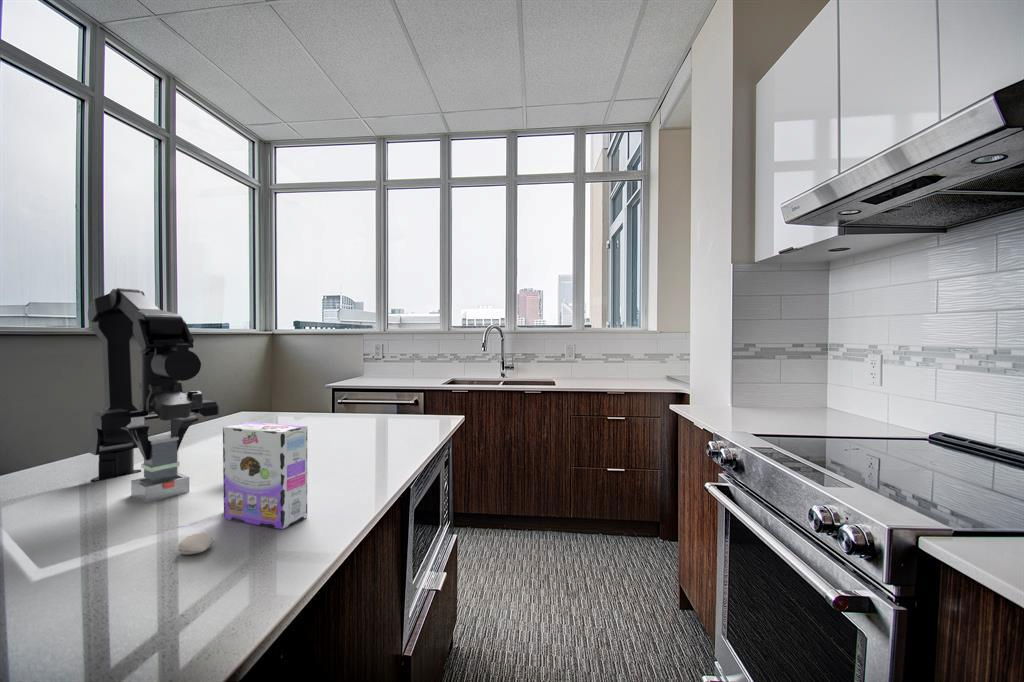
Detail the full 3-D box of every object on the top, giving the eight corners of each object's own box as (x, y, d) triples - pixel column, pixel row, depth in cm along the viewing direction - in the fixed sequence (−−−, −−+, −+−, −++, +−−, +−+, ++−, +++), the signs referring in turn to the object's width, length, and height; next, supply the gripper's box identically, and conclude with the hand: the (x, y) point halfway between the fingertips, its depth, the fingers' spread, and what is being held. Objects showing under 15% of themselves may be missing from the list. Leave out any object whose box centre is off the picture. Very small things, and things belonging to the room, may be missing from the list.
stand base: (109, 502, 83) (109, 481, 83) (183, 484, 94) (183, 466, 94) (133, 516, 77) (133, 494, 77) (209, 495, 87) (209, 475, 87)
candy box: (309, 517, 77) (309, 425, 77) (281, 531, 72) (282, 431, 72) (251, 507, 82) (251, 419, 82) (221, 519, 76) (221, 425, 76)
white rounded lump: (209, 543, 68) (209, 527, 68) (220, 553, 65) (220, 536, 65) (174, 553, 64) (174, 536, 64) (184, 565, 61) (184, 547, 61)
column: (141, 477, 85) (141, 438, 85) (169, 471, 88) (169, 433, 88) (150, 481, 82) (150, 441, 82) (179, 475, 86) (179, 436, 86)
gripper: (112, 384, 73) (112, 477, 73) (232, 376, 89) (232, 452, 89) (91, 380, 79) (91, 466, 79) (206, 373, 95) (206, 445, 95)
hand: (160, 457), depth 85 cm, fingers closed on column, 4 cm apart
